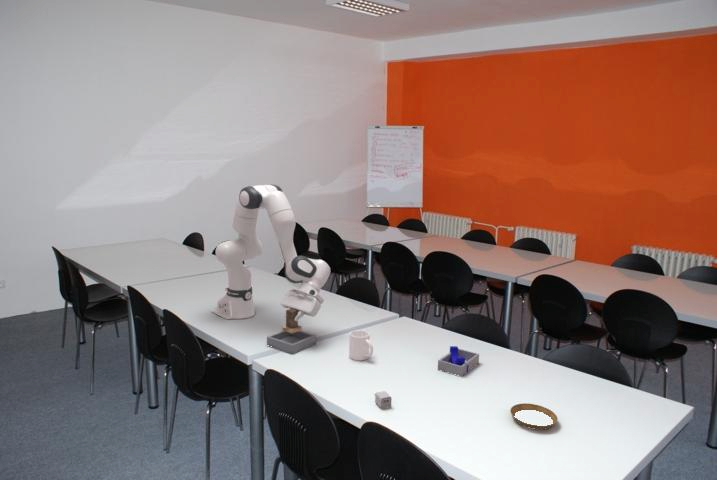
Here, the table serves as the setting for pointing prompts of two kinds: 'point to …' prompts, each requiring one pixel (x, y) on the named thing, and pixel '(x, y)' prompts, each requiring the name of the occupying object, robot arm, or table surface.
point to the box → (291, 341)
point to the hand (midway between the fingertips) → (290, 319)
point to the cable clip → (456, 357)
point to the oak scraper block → (291, 321)
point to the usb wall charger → (383, 399)
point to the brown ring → (537, 408)
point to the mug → (360, 345)
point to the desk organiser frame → (456, 369)
